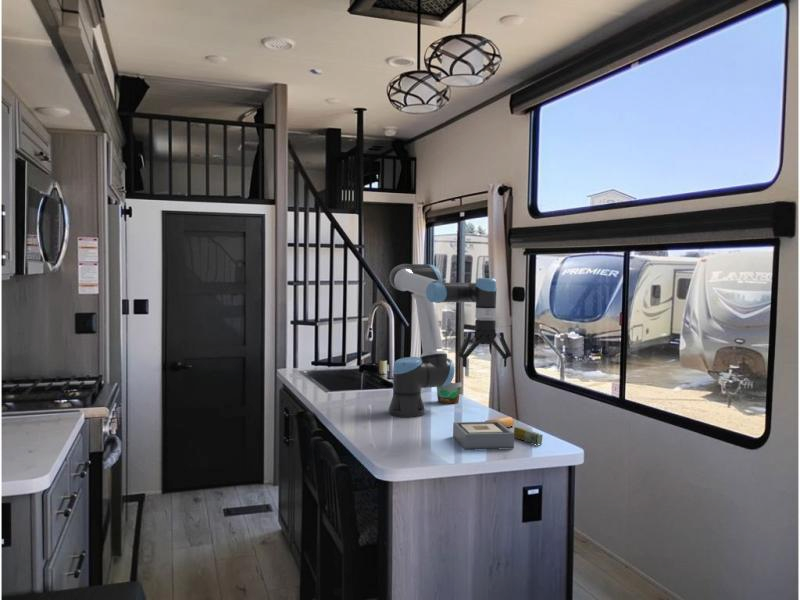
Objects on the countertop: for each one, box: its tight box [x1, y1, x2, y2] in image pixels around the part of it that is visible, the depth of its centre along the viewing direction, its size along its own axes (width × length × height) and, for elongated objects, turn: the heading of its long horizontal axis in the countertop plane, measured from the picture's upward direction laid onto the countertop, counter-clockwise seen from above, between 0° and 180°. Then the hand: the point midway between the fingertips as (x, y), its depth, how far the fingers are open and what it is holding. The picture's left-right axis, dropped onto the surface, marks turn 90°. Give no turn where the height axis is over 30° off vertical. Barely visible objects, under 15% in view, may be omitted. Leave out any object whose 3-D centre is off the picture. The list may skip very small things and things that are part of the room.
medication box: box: [513, 426, 543, 446], centre depth 227 cm, size 12×3×4 cm, turn 33°
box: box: [452, 421, 515, 451], centre depth 224 cm, size 17×17×6 cm
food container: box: [436, 381, 463, 405], centre depth 288 cm, size 12×6×10 cm, turn 76°
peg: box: [484, 416, 515, 428], centre depth 245 cm, size 4×4×12 cm
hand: (484, 375), depth 239 cm, fingers open, 13 cm apart
